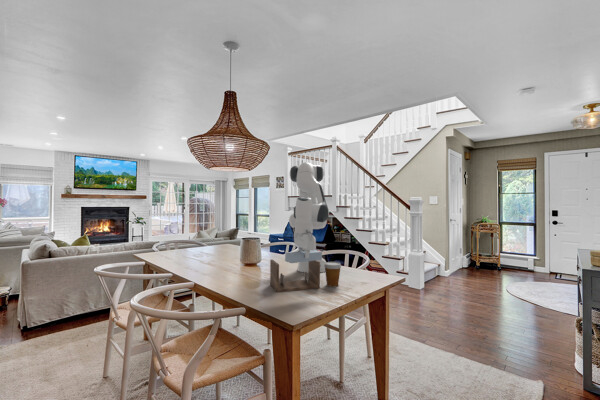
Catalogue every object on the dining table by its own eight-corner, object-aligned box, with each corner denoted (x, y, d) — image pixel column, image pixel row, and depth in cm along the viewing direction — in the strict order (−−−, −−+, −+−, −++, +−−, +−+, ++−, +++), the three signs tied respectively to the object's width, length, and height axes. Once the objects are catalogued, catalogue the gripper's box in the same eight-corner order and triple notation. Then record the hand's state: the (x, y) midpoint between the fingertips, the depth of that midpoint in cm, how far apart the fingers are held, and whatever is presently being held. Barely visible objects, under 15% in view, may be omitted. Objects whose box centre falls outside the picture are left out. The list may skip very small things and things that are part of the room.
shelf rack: (310, 281, 172) (310, 257, 172) (319, 287, 159) (319, 261, 159) (270, 284, 164) (270, 259, 164) (276, 292, 151) (276, 264, 151)
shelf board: (315, 257, 156) (315, 250, 156) (321, 259, 151) (321, 251, 151) (285, 261, 146) (285, 253, 146) (291, 263, 141) (291, 255, 141)
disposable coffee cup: (331, 288, 158) (331, 266, 158) (320, 284, 166) (320, 262, 166) (344, 285, 163) (344, 264, 163) (333, 281, 171) (333, 261, 171)
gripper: (317, 231, 140) (317, 260, 140) (303, 227, 159) (302, 252, 159) (305, 231, 138) (305, 261, 138) (291, 227, 157) (291, 253, 157)
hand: (303, 256), depth 148 cm, fingers closed on shelf board, 6 cm apart
